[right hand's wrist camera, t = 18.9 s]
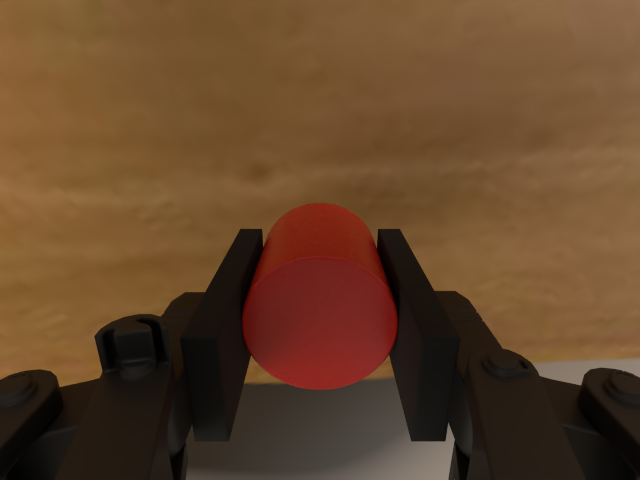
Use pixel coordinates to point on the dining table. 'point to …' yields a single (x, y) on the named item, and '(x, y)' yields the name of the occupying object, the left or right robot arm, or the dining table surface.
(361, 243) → the tin
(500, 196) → the dining table surface
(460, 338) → the right robot arm
